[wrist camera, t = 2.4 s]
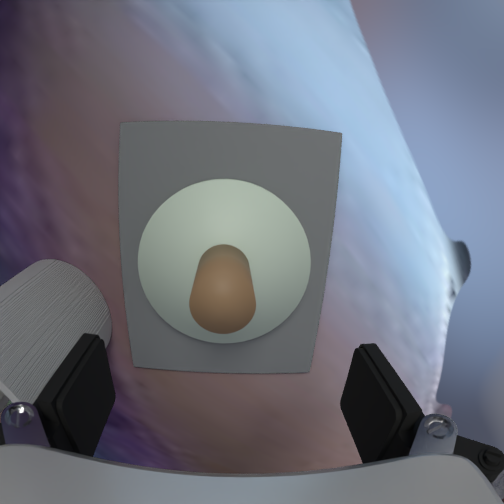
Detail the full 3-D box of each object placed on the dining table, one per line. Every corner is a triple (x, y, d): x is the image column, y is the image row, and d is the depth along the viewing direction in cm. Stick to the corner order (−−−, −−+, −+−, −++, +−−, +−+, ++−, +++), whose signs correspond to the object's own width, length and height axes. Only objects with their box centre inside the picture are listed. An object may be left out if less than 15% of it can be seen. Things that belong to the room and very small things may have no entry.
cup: (103, 261, 21) (10, 360, 9) (119, 366, 23) (73, 483, 12) (9, 257, 20) (-91, 325, 8) (32, 352, 23) (-32, 440, 11)
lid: (140, 177, 19) (105, 187, 13) (315, 183, 20) (348, 196, 14) (147, 332, 22) (127, 384, 16) (297, 336, 23) (316, 388, 17)
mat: (122, 123, 18) (120, 122, 18) (340, 133, 19) (342, 133, 19) (134, 363, 23) (133, 366, 23) (308, 369, 24) (309, 372, 24)
